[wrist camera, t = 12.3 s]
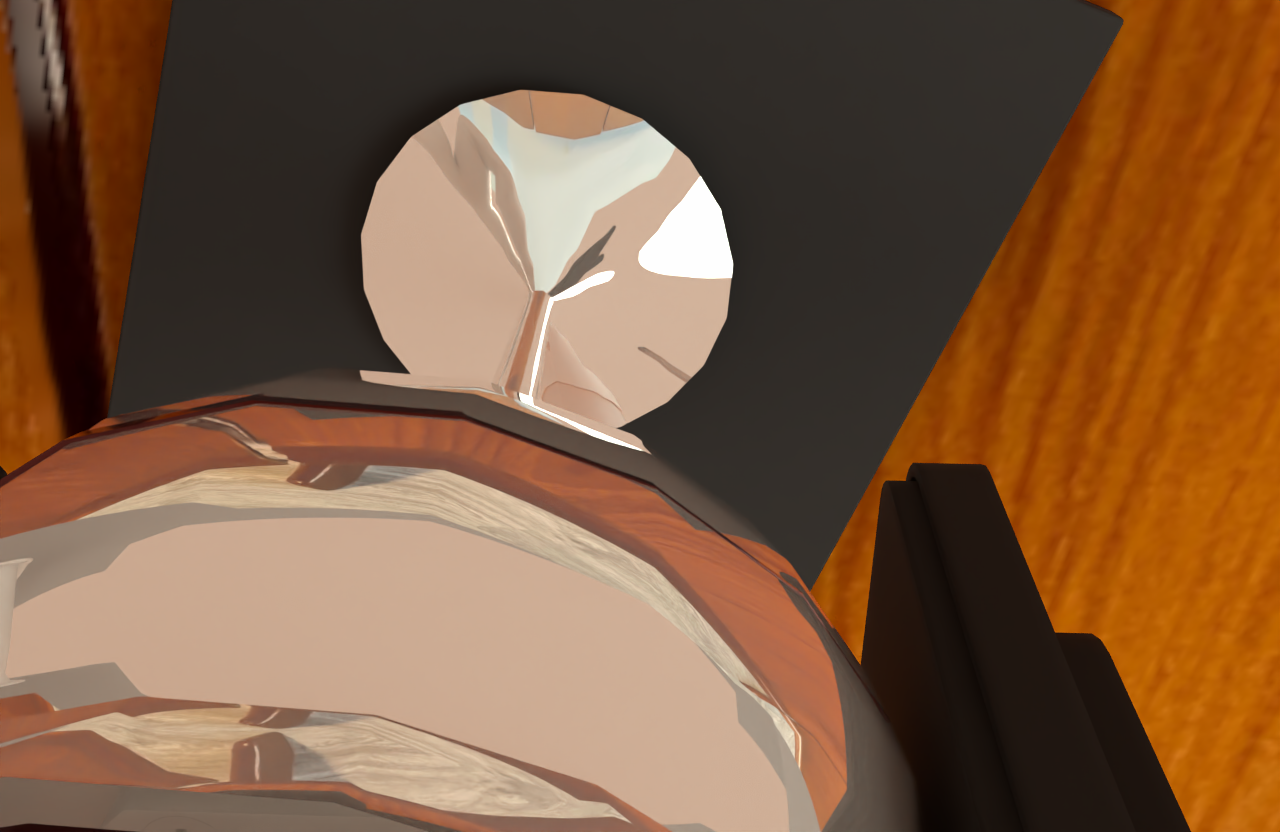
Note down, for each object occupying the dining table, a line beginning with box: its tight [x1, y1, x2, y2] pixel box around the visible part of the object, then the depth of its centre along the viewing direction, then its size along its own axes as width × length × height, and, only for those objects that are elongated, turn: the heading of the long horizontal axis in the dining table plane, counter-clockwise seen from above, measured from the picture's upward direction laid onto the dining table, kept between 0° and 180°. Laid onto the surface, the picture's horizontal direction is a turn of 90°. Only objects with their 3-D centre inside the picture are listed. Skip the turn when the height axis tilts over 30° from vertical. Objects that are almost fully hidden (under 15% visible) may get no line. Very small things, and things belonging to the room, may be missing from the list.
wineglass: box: [0, 90, 925, 832], centre depth 11 cm, size 7×7×12 cm
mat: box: [107, 0, 1123, 591], centre depth 16 cm, size 11×11×1 cm
